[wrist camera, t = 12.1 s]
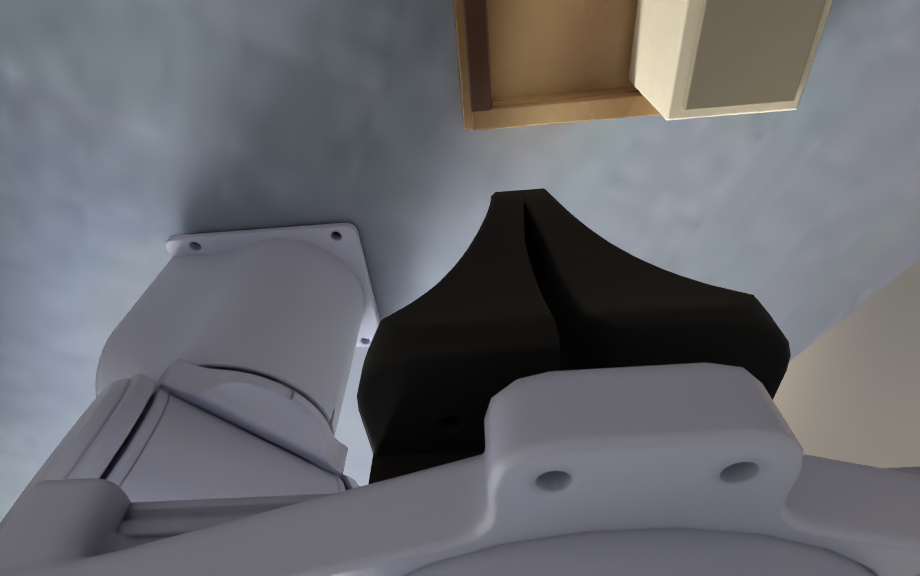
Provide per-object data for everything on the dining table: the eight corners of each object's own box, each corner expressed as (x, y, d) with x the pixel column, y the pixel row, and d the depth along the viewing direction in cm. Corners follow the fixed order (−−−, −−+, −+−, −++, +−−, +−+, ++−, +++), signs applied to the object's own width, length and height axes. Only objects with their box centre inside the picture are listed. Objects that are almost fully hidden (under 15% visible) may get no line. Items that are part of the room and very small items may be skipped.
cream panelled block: (627, 80, 19) (669, 124, 15) (642, -45, 17) (695, -28, 13) (734, 70, 19) (803, 113, 15) (765, -58, 16) (856, -44, 13)
